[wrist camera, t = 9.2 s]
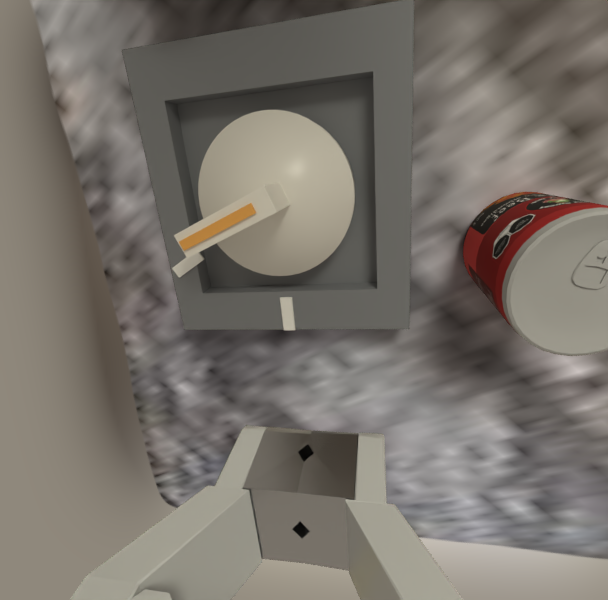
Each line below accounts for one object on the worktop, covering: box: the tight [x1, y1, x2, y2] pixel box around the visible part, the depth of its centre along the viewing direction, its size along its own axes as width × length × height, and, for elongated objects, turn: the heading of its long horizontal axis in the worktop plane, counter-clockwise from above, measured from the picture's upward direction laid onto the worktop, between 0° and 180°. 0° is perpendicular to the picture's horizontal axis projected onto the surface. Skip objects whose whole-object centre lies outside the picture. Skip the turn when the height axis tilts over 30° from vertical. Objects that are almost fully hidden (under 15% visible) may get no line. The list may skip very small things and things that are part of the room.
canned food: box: [463, 192, 608, 356], centre depth 23 cm, size 8×8×11 cm
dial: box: [174, 110, 355, 276], centre depth 26 cm, size 12×12×6 cm
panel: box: [122, 0, 414, 330], centre depth 29 cm, size 22×20×3 cm
